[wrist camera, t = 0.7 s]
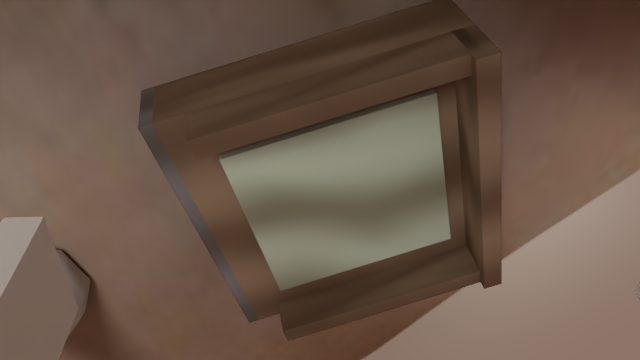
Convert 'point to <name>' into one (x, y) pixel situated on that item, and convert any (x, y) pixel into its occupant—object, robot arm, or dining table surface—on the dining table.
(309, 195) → the dock
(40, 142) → the dining table surface
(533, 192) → the dining table surface
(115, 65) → the dining table surface
